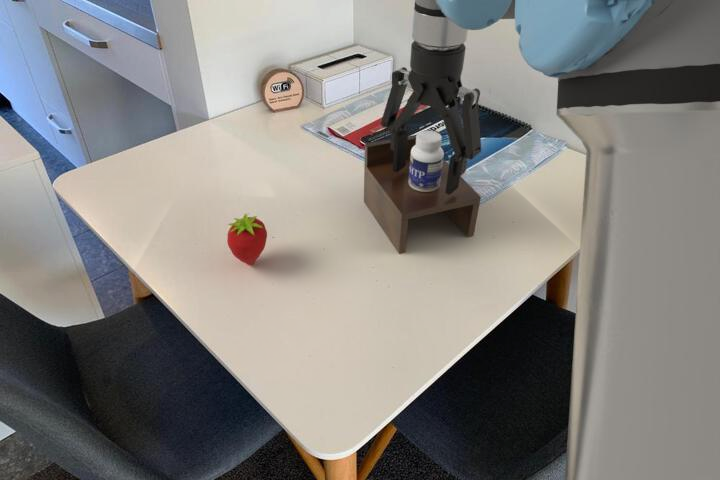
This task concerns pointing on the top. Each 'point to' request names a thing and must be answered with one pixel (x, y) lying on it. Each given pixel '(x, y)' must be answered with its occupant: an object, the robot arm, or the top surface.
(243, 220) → the strawberry
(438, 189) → the shelf
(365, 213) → the top surface
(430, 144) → the pill bottle
